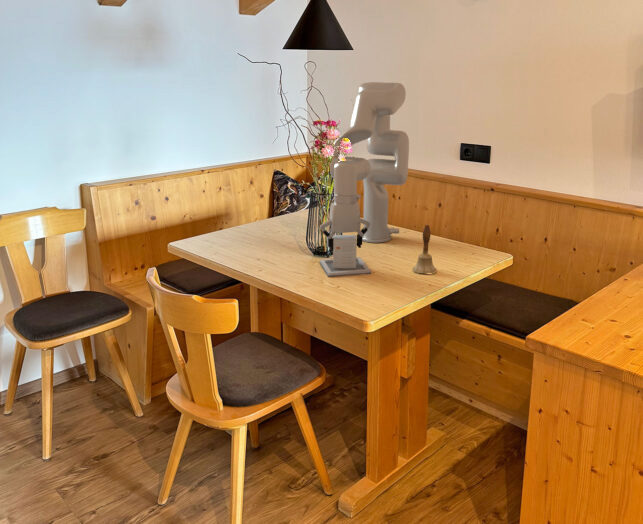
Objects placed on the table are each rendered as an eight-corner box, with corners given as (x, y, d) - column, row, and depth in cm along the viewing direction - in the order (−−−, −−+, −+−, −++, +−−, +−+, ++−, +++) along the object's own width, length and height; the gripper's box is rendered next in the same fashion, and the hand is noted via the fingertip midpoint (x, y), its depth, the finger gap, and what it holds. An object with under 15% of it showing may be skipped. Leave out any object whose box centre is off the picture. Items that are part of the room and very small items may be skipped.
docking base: (360, 260, 229) (360, 256, 229) (371, 273, 216) (371, 270, 216) (319, 263, 227) (319, 259, 226) (327, 276, 213) (327, 273, 213)
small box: (355, 263, 224) (356, 234, 221) (356, 269, 219) (356, 239, 215) (332, 263, 224) (333, 234, 221) (332, 268, 219) (333, 239, 216)
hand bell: (417, 265, 224) (419, 221, 219) (440, 269, 220) (442, 224, 215) (408, 272, 217) (410, 226, 212) (431, 276, 213) (433, 230, 208)
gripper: (367, 194, 218) (366, 242, 224) (317, 197, 215) (318, 246, 221) (373, 200, 212) (372, 249, 217) (322, 203, 208) (322, 253, 214)
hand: (345, 247), depth 219 cm, fingers open, 9 cm apart
